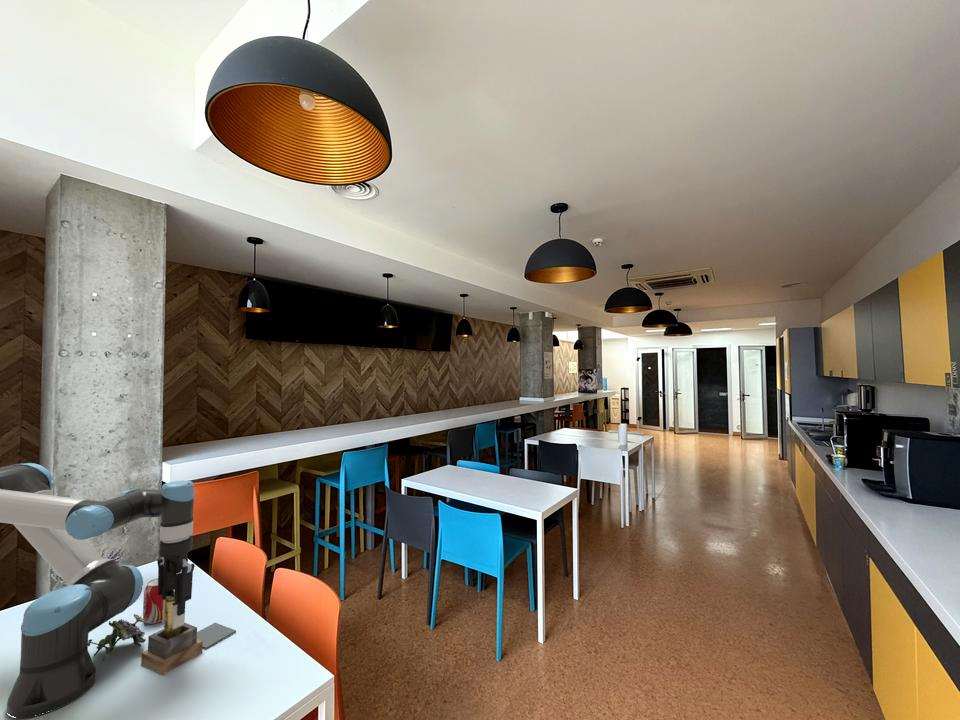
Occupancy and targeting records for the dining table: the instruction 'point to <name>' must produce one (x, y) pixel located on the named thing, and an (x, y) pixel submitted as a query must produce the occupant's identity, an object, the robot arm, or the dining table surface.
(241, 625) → the dining table surface
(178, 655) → the open box with base
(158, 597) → the soda can
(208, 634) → the rubber pad
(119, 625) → the passion flower
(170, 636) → the brass cylinder
